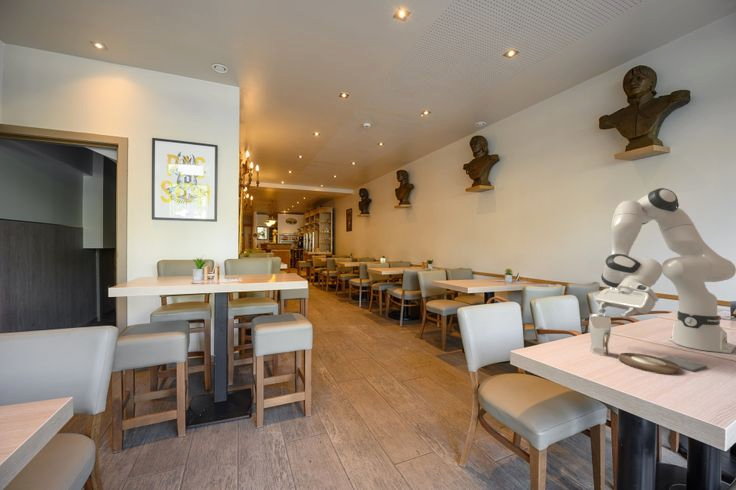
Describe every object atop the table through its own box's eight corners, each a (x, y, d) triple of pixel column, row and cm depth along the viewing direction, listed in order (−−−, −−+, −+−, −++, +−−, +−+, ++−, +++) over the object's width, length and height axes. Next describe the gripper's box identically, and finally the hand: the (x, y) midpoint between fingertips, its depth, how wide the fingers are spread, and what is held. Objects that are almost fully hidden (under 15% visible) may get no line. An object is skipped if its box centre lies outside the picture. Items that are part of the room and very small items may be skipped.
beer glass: (615, 356, 113) (615, 318, 113) (594, 355, 114) (594, 317, 114) (604, 350, 120) (604, 314, 120) (585, 349, 121) (585, 313, 121)
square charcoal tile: (669, 357, 112) (669, 355, 112) (707, 367, 103) (707, 365, 103) (655, 361, 109) (655, 359, 109) (692, 371, 99) (692, 369, 99)
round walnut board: (633, 354, 116) (633, 350, 116) (690, 370, 101) (690, 365, 101) (609, 359, 110) (609, 355, 110) (665, 377, 95) (665, 372, 95)
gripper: (602, 282, 131) (584, 304, 129) (654, 288, 111) (633, 314, 109) (611, 291, 132) (592, 314, 130) (664, 299, 112) (642, 326, 110)
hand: (611, 314), depth 120 cm, fingers open, 8 cm apart
